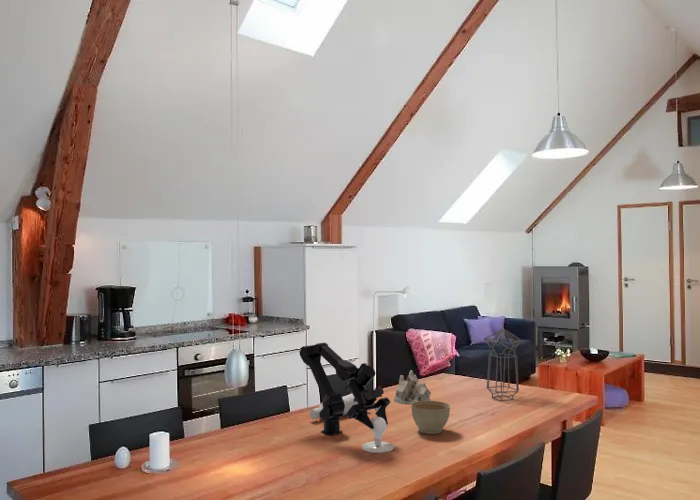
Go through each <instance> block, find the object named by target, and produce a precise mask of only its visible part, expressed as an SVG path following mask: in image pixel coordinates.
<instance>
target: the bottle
mask: <svg viewBox="0 0 700 500" xmlns="http://www.w3.org/2000/svg"><path fill="white" fill-rule="evenodd" d="M342 399H343V400H344V404H345V409H344V413H343V416H345V415H347V412H348V410H349V409H350V408H351V407H352V406H353V405H355V404H358V403H357V402H354V396H353V394H352V393H351V392H350V394H348V395H344V396H342ZM322 409H323V405H322V402H321V403H320V404H319V405H318V407H316V408H311V409H310V411H309V415H310V418H311V419H312V420H316V419H318V418H319V419H321V418H320V415H319V413H320V411H321V410H322Z"/></svg>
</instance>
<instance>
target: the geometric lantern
mask: <svg viewBox="0 0 700 500" xmlns="http://www.w3.org/2000/svg"><path fill="white" fill-rule="evenodd" d="M516 339H517V340H516ZM483 340H484V341H485V342H486V344H487V345H488V349H489V350H488V364H487V365H488V366H487V375H486V376H487V379H486V389H487V390H488V391H489V392H490V393H491V398H492V399H493V400H494V399H495V400H497V401H500V402H505V401H506V399H503V398H504V397H505V398H506V397H507V398H508V399H507V401H513V400H514V397H515V396H516V394H517V393H518V392H519V391H520V390H519V389H520V387H519V386H520V385H519V384H520V383H519V369H518V367H519V365H518V364H519V363H518V362H519V361H518V355H517V352H516V348H518V347H519V345H521V344H522V343H524V342H525V341H524V340H523V339H521V338H520V337H518V336H517V335H515V334H514V333H512V332H510V331H508V330H507V329H505V328H502V329H500V330H497V331H496V332H494V333H492V334H490V335H488V336H486V337H484V338H483ZM507 340H508V341H509V342H507ZM490 344H491V345H490ZM505 344H506V345H505ZM509 344H511V347H509ZM501 345H502V346H503V347H504V350H503V348H502V347H501ZM495 346H497V347H498V346H499V348H500V349H501V350H502V353H500V354H499V356H498V353H497V351H496V349H495ZM491 348H492V349H491ZM490 350H491V351H490ZM506 350H509V351H508V353H506V352H505V351H506ZM493 351H494V353H493ZM511 352H512V353H513V354H510V353H511ZM502 355H504V356H502ZM492 357H494V358H496V370H495V373H496V374H495V386H490V378H491V377H490V376H491V369H492V367H491V365H492ZM510 358H511V359H512V358H514V367H515V368H514V369H515V370H514V371H515V383H516V388H514V387H510ZM498 359H499V360H498ZM502 359H504V361H503V362H504V364H503V372H502ZM506 359H507V376H508V377H507V379H508V380H507V382H508V383H507V385H508V386H507V385H506V386H505V376H506ZM499 365H500V366H499ZM498 366H499V370H500V373H499V374H500V385H498ZM502 373H503V374H502ZM502 376H503V379H502ZM502 380H503V381H502ZM493 388H495V390H494V389H493ZM498 388H500V391H497V389H498ZM505 388H507V389H506V390H505ZM509 389H511V390H510V391H509ZM512 390H513V391H512ZM513 393H514V394H513ZM506 394H507V395H506ZM494 395H495V396H494ZM496 397H497V398H496ZM498 397H499V398H501V399H499V398H498Z"/></svg>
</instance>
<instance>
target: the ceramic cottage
mask: <svg viewBox="0 0 700 500" xmlns="http://www.w3.org/2000/svg"><path fill="white" fill-rule="evenodd" d="M431 393H432V392H431V391H430V390H429V388H428V387H427V385H426V382H423V383H422V382H419V379H418V377H417V375H416V374H414V371H413V369H412V370H411V369H410V371H409V373H408V375H407V377H406V380H405V377H404V375H401V374H400V376H399V380H398V385H397V386H396V388H395V395H394V399H393V402H394V403H397V404H400V405H401V404H404V405H411V404H412V403H413V402H417V401H431V399H430V397H431V395H432V394H431Z"/></svg>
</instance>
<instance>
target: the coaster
mask: <svg viewBox="0 0 700 500" xmlns="http://www.w3.org/2000/svg"><path fill="white" fill-rule="evenodd" d="M374 443H375V440H373V441H368V442H365V443H363V444H362V445H361V449H362V450H363V451H365V452H368V453H373V454H384V453H388V452H392V451H393V450H394V444H393V443H390V442H387V441H382V440H381V445H380V446H376V445H375V444H374Z"/></svg>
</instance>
